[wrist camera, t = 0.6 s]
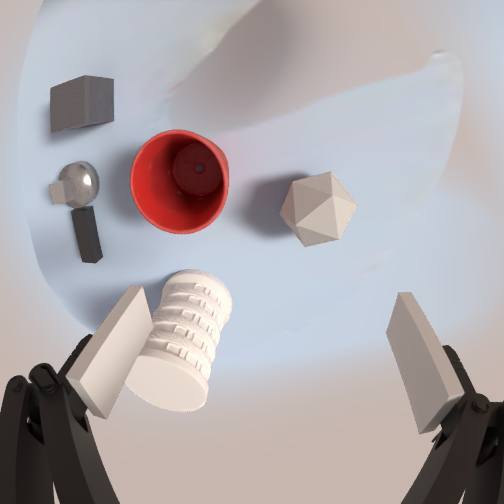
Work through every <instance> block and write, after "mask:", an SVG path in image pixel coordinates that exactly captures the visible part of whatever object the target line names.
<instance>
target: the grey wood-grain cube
mask: <svg viewBox="0 0 504 504" xmlns="http://www.w3.org/2000/svg"><path fill="white" fill-rule="evenodd" d="M50 112H51V133H52V132H57V131H63V130H69V129H75V128H82V127H86V126H90V125H95V124H100V123H105V122H110V121H114V79H109V78H103V77H95V76H87V75H84V76H81V77H78V78H76V79H73V80H70V81H67V82H65V83H62V84H59V85H57V86H54V87H52V88H51V89H50Z"/></svg>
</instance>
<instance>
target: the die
mask: <svg viewBox="0 0 504 504" xmlns="http://www.w3.org/2000/svg"><path fill="white" fill-rule="evenodd" d="M357 206H358V205H357V203H356V202H355V201H354V200H353V198H352V197H351V196H350V194H349V193H348V192H347V191H346V189H345V188H344V187H343V186H342V185H341V183H340V182H339V181H338V180H337V178H336V177H335V176H334V175H333V174H332V172H327V173H323V174H319V175H315V176H311V177H307V178H303V179H299V180H296V181H292V184H291V186H290V189H289V191H288V194H287V196H286V199H285V201H284V204H283V206H282V209H281V211H280V214H279V215H280V216H281V217H282V218H283V220H284V221H285V222H286V223H287V225H288V226H289V227H290V228H291V230H292V231H293V232H294V234H295V235H296V236H297V237H298V239H299V240H300V241H301V243H302V244H303V245H304V246H305V247H307V246H312V245H316V244H321V243H325V242H329V241H334V240H338V239H339V238H340V236H341V234H342V233H343V231H344V229H345V227H346V226H347V224H348V222H349V220H350V219H351V217H352V215H353V213H354V211H355V210H356V208H357Z"/></svg>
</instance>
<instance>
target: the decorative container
mask: <svg viewBox="0 0 504 504" xmlns="http://www.w3.org/2000/svg"><path fill="white" fill-rule="evenodd" d="M231 309H232V298H231V295H230V293H229V290H228V289H227V288H226V286H225V285H224V284H223V283H222V282H221V281H220V280H219V279H217V278H216V277H215V276H213V275H211V274H209V273H207V272H203V271H200V270H183V271H179V272H177V273H176V274H174V275H172V276H171V277H170V278H169V279H168V281H167V282H166V284H165V285H164V288H163V290H162V297H161V301H160V304H159V307H158V308H156V311H154V314H152V322H153V325H154V327H153V329H152V330H151V332H150V334H149V336H148V338H147V340H146V342H145V344H144V346H143V347H142V349H141V351H140V353H139V355H138V357H137V359H136V361H135V363H134V365H133V367H132V369H131V371H130V373H129V375H128V377H127V379H126V381H125V384H126V385H127V386H128V388H129V389H130V390H131V391H132V392H133V393H135V394H136V395H137V396H138V397H140V398H141V399H143V400H144V401H146V402H148V403H150V404H152V405H154V406H156V407H159V408H162V409H165V410H170V411H175V412H190V411H195V410H197V409H199V408H201V407H202V406H203V405H204V404H205V403H206V399H207V395H208V391H209V387H208V382H207V380H208V379H209V377H210V373H211V372H210V371H211V366H210V365H211V363H212V362H213V360H214V358H215V348H216V346H217V344H218V342H219V338H220V332H221V330H222V327H223V325H224V324H226V322H227V321H228V319H229V317H230V313H231Z"/></svg>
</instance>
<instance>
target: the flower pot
mask: <svg viewBox="0 0 504 504" xmlns="http://www.w3.org/2000/svg"><path fill="white" fill-rule="evenodd" d="M130 187H131V193H132V196H133V199H134V202H135V204H136V206H137V208H138V209H139V211H140V212H141V214H142V215H143V216H144V217H145V218H146V219H147V220H148V221H149V222H150V223H151V224H153V225H154V226H155V227H157V228H159V229H161V230H163V231H166V232H169V233H173V234H190V233H194V232H197V231H200V230H202V229H204V228H206V227H207V226H209V225H210V224H211V223H212V222H213V221H214V220H215V219H216V218H217V217H218V216H219V214H220V213H221V211H222V209H223V207H224V205H225V202H226V198H227V194H228V187H229V168H228V162H227V159H226V156H225V154H224V153H223V151H222V150H221V149H220V148H219V147H218V146H217V145H215V144H214V143H213V142H211V141H210V140H208V139H206V138H204V137H202V136H200V135H198V134H195V133H193V132H190V131H186V130H169V131H165V132H162V133H160V134H157V135H156V136H154V137H152V138H151V139H150V140H148V141H147V142H146V143H145V144H144V145H143V146H142V147H141V149H140V150H139V152H138V153H137V155H136V157H135V159H134V162H133V164H132V168H131V173H130Z"/></svg>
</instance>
